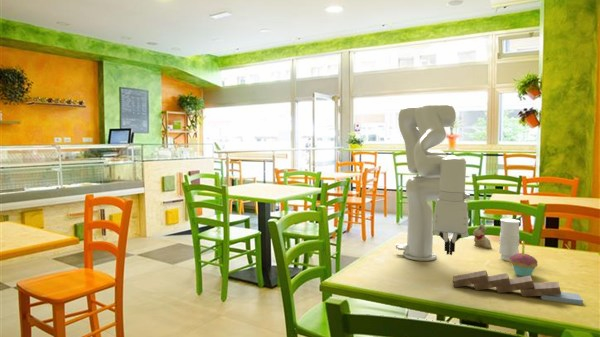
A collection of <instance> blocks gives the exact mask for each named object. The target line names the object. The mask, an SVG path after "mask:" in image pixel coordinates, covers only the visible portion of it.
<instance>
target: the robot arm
mask: <svg viewBox="0 0 600 337" xmlns="http://www.w3.org/2000/svg"><path fill="white" fill-rule="evenodd" d="M456 116H457V114H456V110H455V108H454V106H452V105H451V104H449V103H423V104H420V105H411V106H410V105H409V106H406V107H402V109H400V111H399V113H398V118H397V119H398V128H399V131H400V133H401V137H402V138H403V142H404V148H405V155H406V156H405V157H406V165H407V169H408V171H409V173H410V174H414V175H416V176H413V177H410V178H409V179H407V181H406V183H405V191H406V192H405V194H406V199H407V239H406V240H407V241H406V243H404V244H401V243H396V244H395V248H396V250H398V251H403V252H402V256H403V257H404V258H405V259H408V260H413V261H420V262H428V261H430V262H431V261H434V260H436V259H437V254H436V253H435V252H433V240H434V239H433V238H434V237H433V236H434V235H437V236H439V237H440V238H441V239H442V240H443V242H444V252H446V255H449V256H452V255H453V253H455V252H456V250H455V249H456V242H457V241H459V240H460V239H461V238H462V239H464V238H469V235H470V234H469V232H468V231H469V230H468V229H469V208H468V207H469V206H468V201H467V200H466V199H470V198H471V197H470V193H468V192H467V193H466V172H467V161H466V159H465V158H463V157H460V156H457V155H454V154H447V153H446V152H445V151H443V150H430V149H431V148H434V147H436V146H438V145H440V144H442V143H443V142H444V141H445V139H446V137H447V132H446V130H445V128H450V127H452V126H454V124H455V122H456V120H457V119H456V118H457V117H456ZM417 175H418V176H417ZM430 201H431V202H435V206H434V211H433V209H432V207H431V206H430V205H429V204H428V202H430ZM449 234H452V238H449Z"/></svg>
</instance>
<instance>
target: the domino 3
mask: <svg viewBox="0 0 600 337" xmlns="http://www.w3.org/2000/svg"><path fill="white" fill-rule="evenodd" d="M509 280H510V285H505V286H499V287H495V289H496V291H497V293H498V294H501V293H503V294H504V293H508V292H514V291H520V290H522V289H528V288H535V287H534V284H533V283H534V282H533V279H532V275H531V276H525V277H523V276H519V277H515V278H514V277H513V278H509Z"/></svg>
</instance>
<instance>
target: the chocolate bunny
mask: <svg viewBox="0 0 600 337" xmlns="http://www.w3.org/2000/svg"><path fill="white" fill-rule="evenodd" d="M487 229H488V228H487V227H486V226H485V225H484V224H483V223H482V224H480V225H479V226H478V227H477V228H475V229H474V230H473V232H472V234H473V236H474V239H473V242H474V246H475V247H477V248H481V249H486V250H487V249H488V250H490V249H492V244H491V241H490V239H489V238H488V237H486V236H485V235H486V231H487Z"/></svg>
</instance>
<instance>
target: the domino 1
mask: <svg viewBox="0 0 600 337" xmlns="http://www.w3.org/2000/svg"><path fill="white" fill-rule="evenodd" d="M488 276H489V275H488V272H487V270H479V271H473V272H469V273H464V274H458V275H453V277H452V284H453V287H454V288H459V287H465V286H471V285H473V284H477V283H483V282H488Z"/></svg>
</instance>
